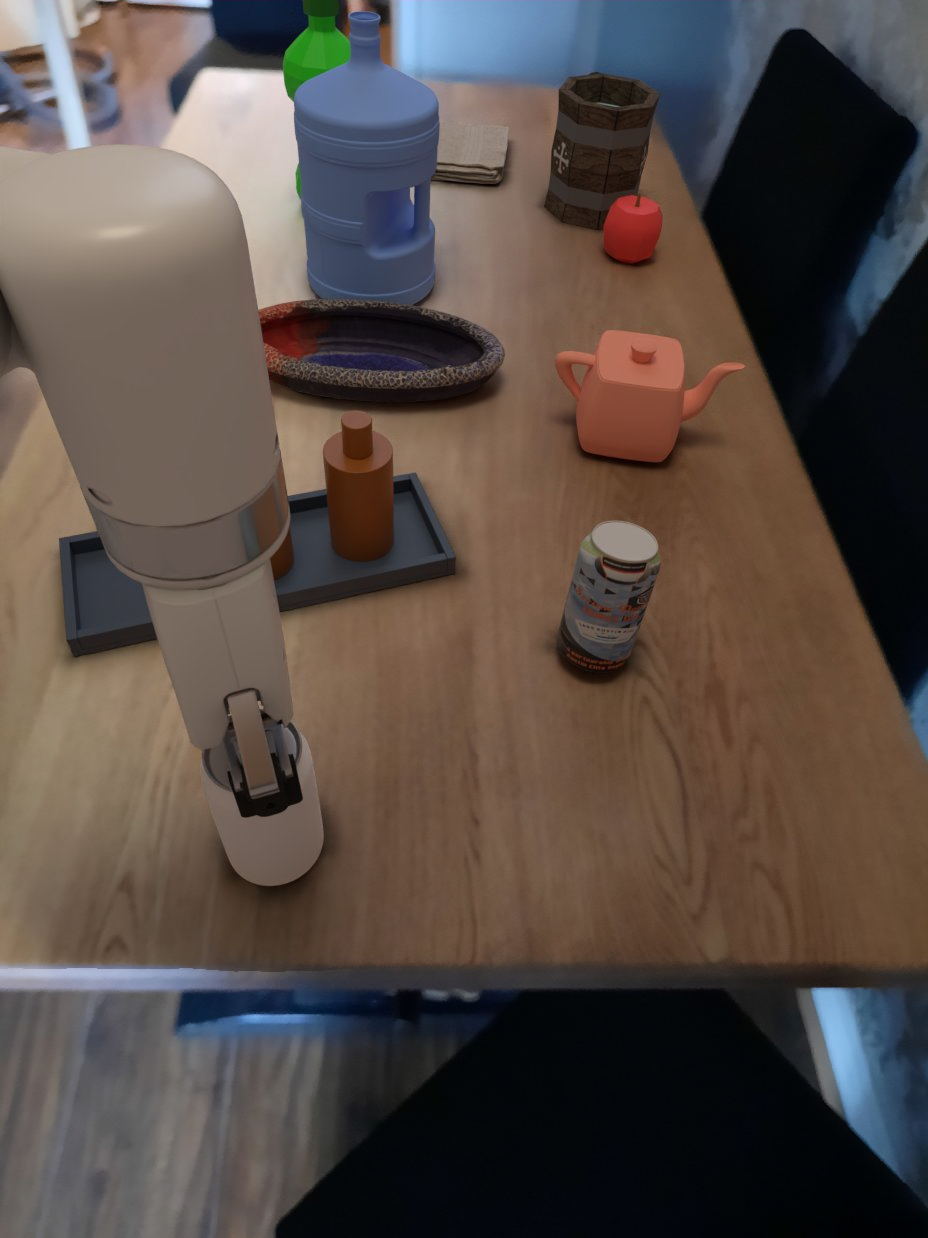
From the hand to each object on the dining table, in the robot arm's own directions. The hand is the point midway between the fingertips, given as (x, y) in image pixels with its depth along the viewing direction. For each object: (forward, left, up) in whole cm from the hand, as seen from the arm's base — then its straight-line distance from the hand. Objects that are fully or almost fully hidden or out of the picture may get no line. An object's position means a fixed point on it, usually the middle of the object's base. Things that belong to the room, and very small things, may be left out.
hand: (254, 730), depth 47 cm
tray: (+4, +26, -14) cm, 30 cm away
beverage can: (+28, +9, -14) cm, 32 cm away
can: (0, 0, -14) cm, 14 cm away
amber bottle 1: (+4, +26, -13) cm, 29 cm away
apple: (+61, +69, -14) cm, 93 cm away
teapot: (+44, +34, -14) cm, 57 cm away
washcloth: (+50, +102, -14) cm, 114 cm away
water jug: (+26, +70, -14) cm, 76 cm away
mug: (+63, +86, -14) cm, 107 cm away
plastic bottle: (+26, +90, -14) cm, 95 cm away
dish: (+20, +52, -14) cm, 57 cm away
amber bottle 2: (+13, +26, -13) cm, 32 cm away
